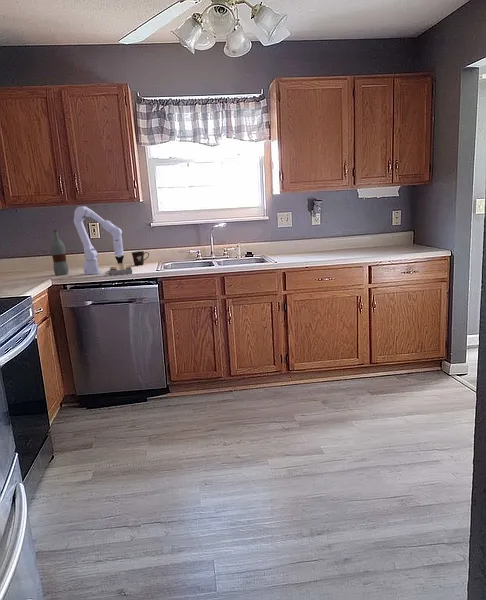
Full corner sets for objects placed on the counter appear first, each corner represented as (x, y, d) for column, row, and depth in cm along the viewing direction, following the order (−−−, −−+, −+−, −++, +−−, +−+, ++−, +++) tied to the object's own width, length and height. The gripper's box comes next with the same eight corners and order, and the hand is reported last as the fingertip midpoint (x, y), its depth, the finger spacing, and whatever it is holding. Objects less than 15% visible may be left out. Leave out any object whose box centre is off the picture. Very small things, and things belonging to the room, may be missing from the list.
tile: (116, 272, 304) (116, 270, 302) (116, 266, 308) (115, 263, 306) (126, 272, 306) (125, 269, 304) (125, 265, 309) (125, 262, 307)
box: (109, 275, 297) (109, 270, 296) (110, 273, 307) (109, 268, 306) (132, 273, 300) (131, 268, 299) (131, 271, 310) (131, 266, 309)
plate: (110, 273, 307) (109, 269, 307) (110, 270, 319) (110, 266, 318) (131, 271, 310) (131, 267, 310) (131, 268, 322) (131, 265, 321)
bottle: (61, 273, 318) (55, 229, 312) (72, 273, 315) (65, 228, 308) (51, 275, 310) (44, 230, 303) (62, 275, 306) (55, 230, 300)
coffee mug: (131, 266, 334) (130, 252, 332) (134, 264, 342) (133, 250, 340) (147, 265, 333) (146, 251, 331) (150, 263, 342) (149, 250, 339)
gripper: (124, 246, 300) (126, 267, 303) (124, 244, 314) (126, 264, 317) (113, 247, 299) (115, 268, 302) (113, 245, 312) (116, 265, 315)
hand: (120, 266), depth 309 cm, fingers closed
